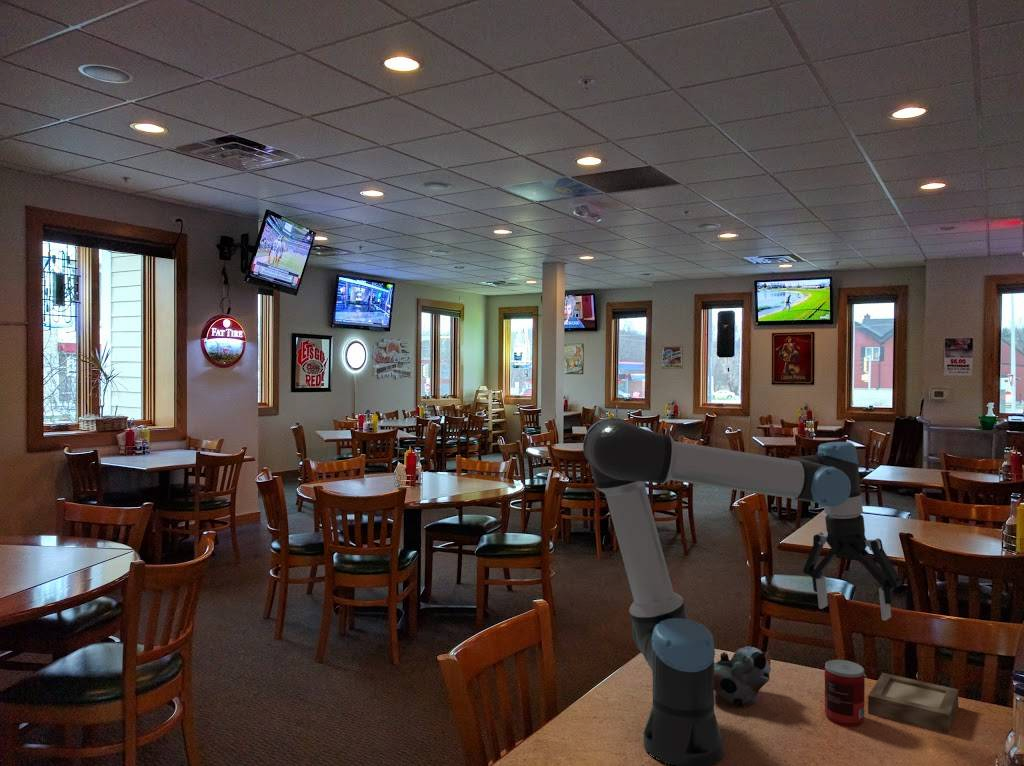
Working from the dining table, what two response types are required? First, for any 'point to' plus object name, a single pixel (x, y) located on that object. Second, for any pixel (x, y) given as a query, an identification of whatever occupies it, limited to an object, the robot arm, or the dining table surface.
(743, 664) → the lucky cat figurine
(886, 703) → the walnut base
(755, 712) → the dining table surface
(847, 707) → the canned food
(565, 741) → the dining table surface
